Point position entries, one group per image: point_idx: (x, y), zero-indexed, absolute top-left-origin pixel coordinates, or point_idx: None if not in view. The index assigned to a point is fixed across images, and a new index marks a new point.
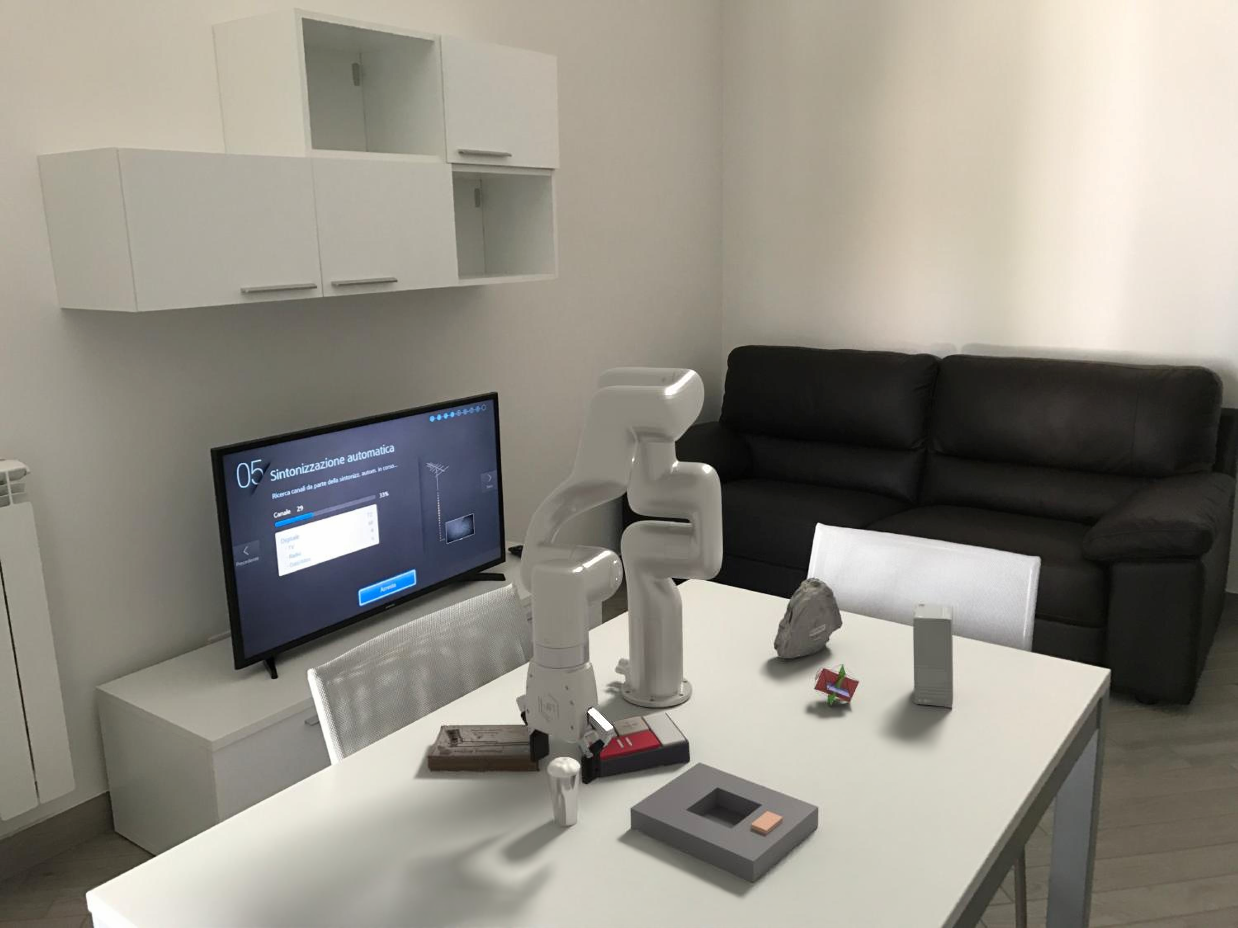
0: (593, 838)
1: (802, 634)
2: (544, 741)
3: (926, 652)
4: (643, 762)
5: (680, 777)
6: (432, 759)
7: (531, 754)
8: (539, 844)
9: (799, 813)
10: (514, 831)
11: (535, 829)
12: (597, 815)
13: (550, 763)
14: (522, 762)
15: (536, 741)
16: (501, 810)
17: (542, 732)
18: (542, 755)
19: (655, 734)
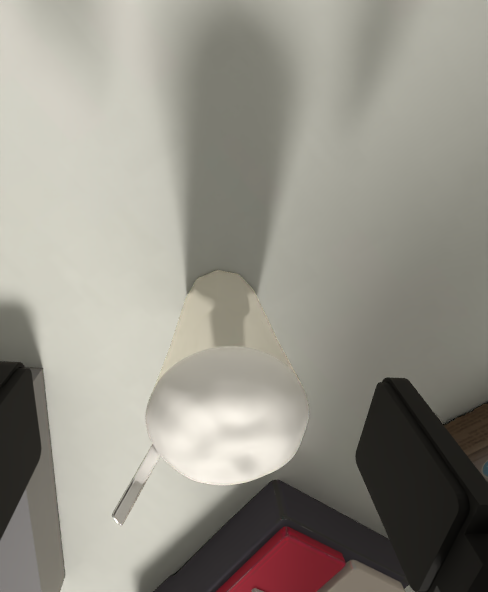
0: (87, 273)
1: None
2: (397, 511)
3: None
4: (200, 567)
5: (29, 572)
6: None
7: (416, 403)
8: (204, 153)
9: None
10: (321, 169)
11: (269, 215)
12: (161, 364)
13: (288, 403)
14: (480, 429)
15: (431, 486)
16: (423, 240)
17: (438, 567)
18: (371, 434)
19: None
